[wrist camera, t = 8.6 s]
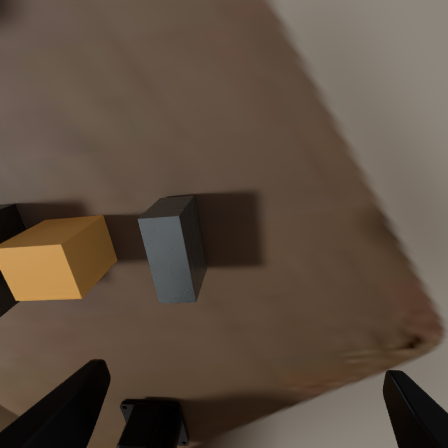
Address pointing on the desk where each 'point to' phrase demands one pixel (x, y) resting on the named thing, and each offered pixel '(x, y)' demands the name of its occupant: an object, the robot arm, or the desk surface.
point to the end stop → (3, 230)
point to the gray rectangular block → (174, 248)
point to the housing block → (57, 258)
